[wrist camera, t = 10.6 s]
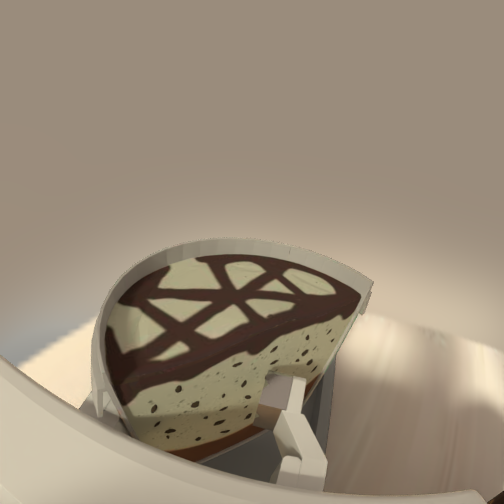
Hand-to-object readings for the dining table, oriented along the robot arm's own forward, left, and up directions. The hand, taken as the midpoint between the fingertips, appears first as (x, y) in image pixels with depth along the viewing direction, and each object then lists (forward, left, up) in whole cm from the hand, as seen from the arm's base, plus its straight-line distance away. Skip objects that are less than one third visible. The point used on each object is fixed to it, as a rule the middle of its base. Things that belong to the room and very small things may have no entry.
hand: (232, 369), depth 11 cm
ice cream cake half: (+2, -1, -7) cm, 7 cm away
